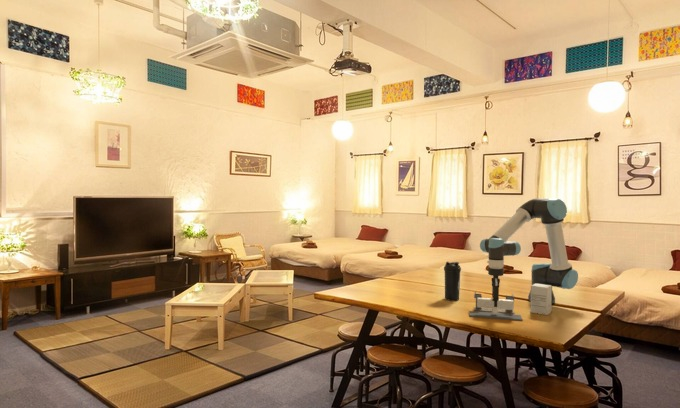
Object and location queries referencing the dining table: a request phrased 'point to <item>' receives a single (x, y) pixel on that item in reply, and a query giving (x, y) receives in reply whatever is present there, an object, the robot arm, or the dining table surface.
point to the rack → (491, 309)
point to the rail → (501, 303)
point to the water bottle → (452, 281)
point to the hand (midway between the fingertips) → (495, 311)
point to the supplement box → (541, 298)
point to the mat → (495, 315)
